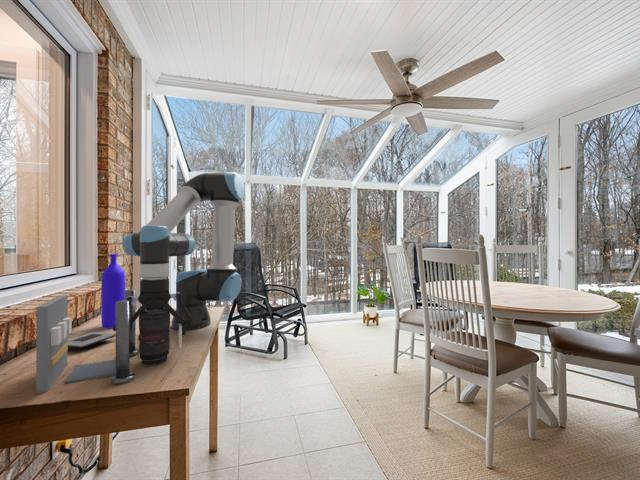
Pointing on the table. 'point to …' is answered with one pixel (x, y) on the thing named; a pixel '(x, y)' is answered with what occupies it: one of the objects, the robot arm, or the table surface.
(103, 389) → the table surface
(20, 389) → the table surface
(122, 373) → the post
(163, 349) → the camera lens
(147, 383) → the table surface
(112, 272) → the bottle
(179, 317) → the robot arm
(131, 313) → the post
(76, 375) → the pad
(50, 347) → the breaker panel
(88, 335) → the electrical outlet
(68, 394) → the table surface
